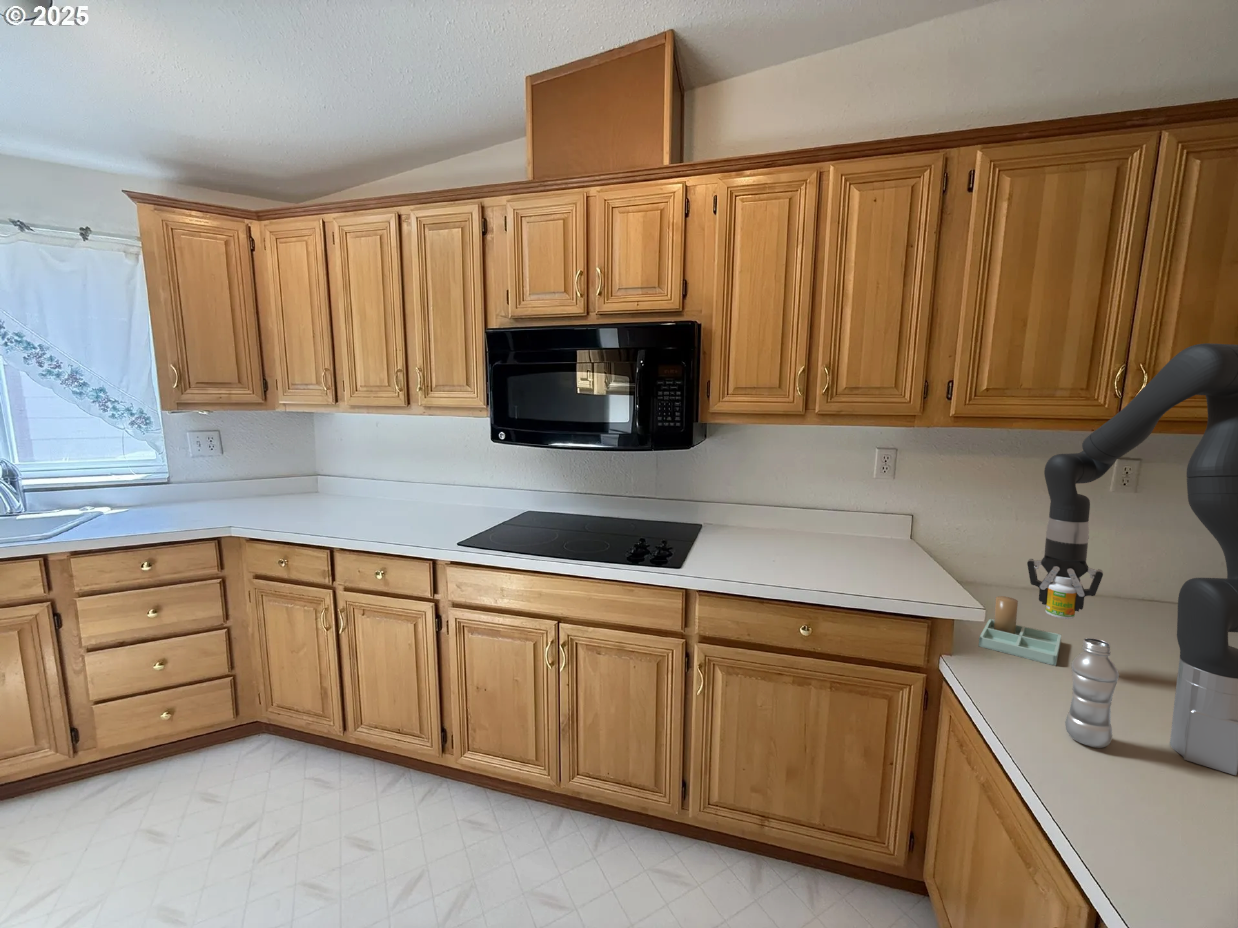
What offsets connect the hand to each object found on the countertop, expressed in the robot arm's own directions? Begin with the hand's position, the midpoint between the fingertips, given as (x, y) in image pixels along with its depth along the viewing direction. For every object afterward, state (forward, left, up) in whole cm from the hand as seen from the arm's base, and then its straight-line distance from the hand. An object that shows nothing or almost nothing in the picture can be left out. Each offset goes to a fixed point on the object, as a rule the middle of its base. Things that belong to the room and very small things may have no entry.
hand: (1060, 606), depth 124 cm
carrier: (+10, +8, -16) cm, 20 cm away
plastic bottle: (-30, -7, -16) cm, 35 cm away
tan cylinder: (+14, +12, -15) cm, 24 cm away
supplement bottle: (0, 0, -2) cm, 2 cm away
